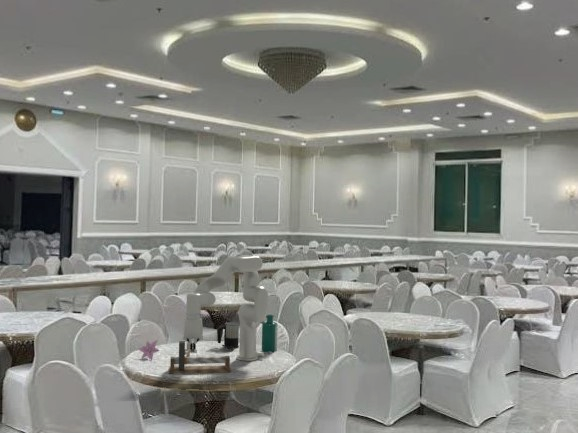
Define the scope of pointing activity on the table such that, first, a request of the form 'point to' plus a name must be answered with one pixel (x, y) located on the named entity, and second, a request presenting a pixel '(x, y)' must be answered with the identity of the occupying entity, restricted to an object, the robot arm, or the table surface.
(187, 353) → the pipe connector
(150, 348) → the lily
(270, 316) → the teal bottle
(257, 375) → the table surface
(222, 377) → the table surface
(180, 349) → the dark grey tapered slab
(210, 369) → the pipe stand
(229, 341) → the milk frother
